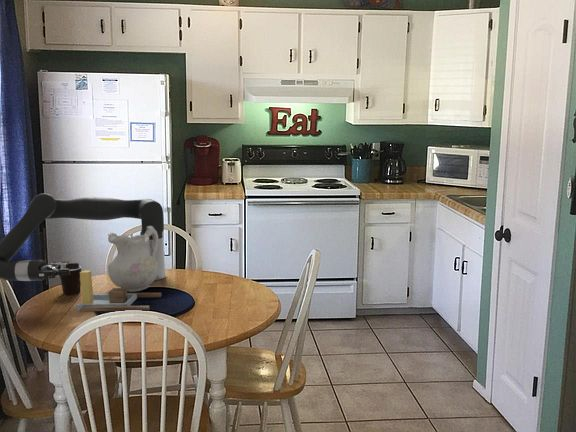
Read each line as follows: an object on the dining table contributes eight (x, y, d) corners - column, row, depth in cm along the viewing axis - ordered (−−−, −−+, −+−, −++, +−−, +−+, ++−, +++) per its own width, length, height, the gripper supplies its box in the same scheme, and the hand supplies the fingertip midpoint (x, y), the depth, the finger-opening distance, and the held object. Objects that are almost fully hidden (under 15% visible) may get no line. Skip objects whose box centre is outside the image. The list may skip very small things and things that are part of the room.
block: (114, 301, 247) (113, 287, 246) (127, 300, 247) (126, 287, 246) (109, 305, 242) (108, 291, 241) (123, 305, 242) (122, 291, 241)
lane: (99, 299, 254) (99, 292, 254) (161, 298, 252) (161, 292, 252) (81, 314, 237) (81, 307, 236) (148, 313, 235) (148, 307, 234)
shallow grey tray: (90, 301, 252) (87, 267, 250) (137, 300, 251) (135, 266, 248) (77, 312, 239) (74, 276, 237) (126, 311, 238) (124, 275, 236)
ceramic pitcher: (139, 283, 279) (131, 224, 276) (175, 284, 269) (167, 223, 266) (101, 297, 261) (92, 234, 257) (138, 299, 251) (129, 234, 247)
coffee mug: (76, 296, 259) (74, 271, 257) (56, 295, 260) (53, 270, 259) (91, 288, 270) (89, 263, 268) (71, 287, 272) (69, 263, 270)
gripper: (20, 265, 237) (65, 264, 236) (38, 255, 251) (80, 254, 250) (23, 286, 238) (67, 284, 237) (40, 275, 252) (82, 273, 251)
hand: (74, 269), depth 243 cm, fingers open, 8 cm apart
